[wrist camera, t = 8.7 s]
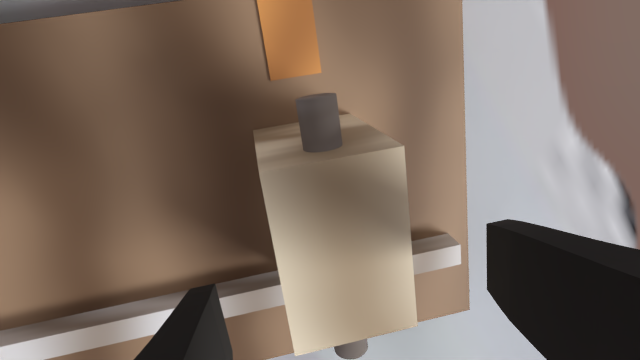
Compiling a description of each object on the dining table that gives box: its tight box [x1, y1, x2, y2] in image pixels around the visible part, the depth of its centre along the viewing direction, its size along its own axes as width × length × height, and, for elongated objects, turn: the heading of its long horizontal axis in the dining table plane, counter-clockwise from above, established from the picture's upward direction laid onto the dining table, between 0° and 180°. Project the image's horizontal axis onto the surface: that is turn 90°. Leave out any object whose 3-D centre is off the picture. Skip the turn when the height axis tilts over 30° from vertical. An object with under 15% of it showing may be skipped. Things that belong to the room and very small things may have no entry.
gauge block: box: [253, 93, 418, 359], centre depth 15 cm, size 4×9×6 cm, turn 8°
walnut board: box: [0, 0, 470, 360], centre depth 17 cm, size 22×16×3 cm
